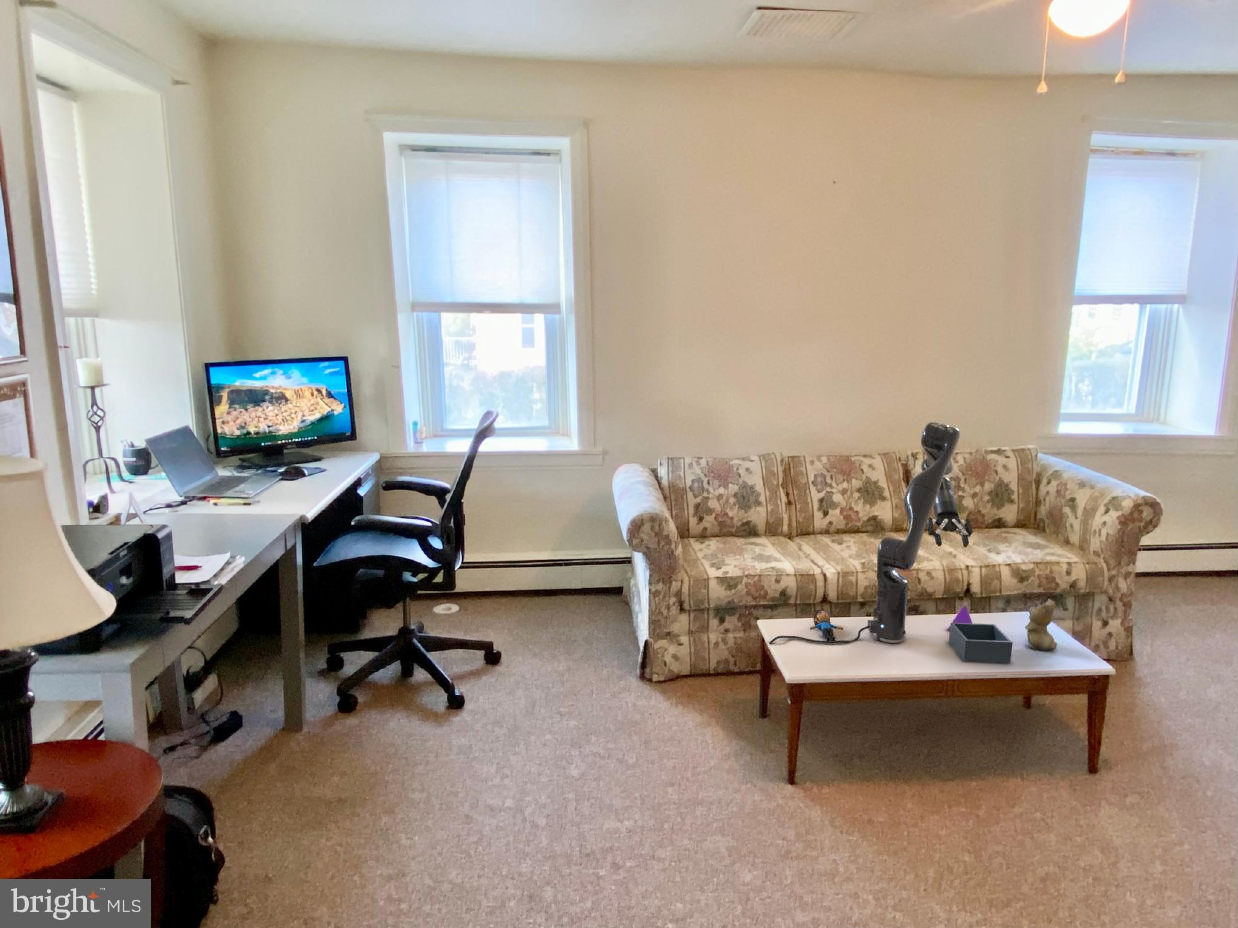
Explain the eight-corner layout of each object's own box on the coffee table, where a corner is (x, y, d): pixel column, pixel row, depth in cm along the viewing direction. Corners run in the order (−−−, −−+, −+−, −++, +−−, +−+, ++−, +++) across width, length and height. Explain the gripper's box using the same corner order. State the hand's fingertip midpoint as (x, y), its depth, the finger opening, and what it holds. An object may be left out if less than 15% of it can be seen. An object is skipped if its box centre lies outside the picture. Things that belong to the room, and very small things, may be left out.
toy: (814, 633, 240) (804, 605, 253) (812, 648, 242) (802, 619, 256) (849, 633, 240) (836, 605, 253) (846, 648, 242) (834, 619, 256)
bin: (963, 661, 228) (965, 640, 226) (948, 642, 241) (950, 622, 240) (1010, 663, 227) (1012, 642, 225) (992, 644, 240) (994, 624, 238)
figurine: (1018, 637, 245) (1023, 593, 242) (1047, 640, 243) (1052, 596, 240) (1028, 650, 235) (1033, 605, 232) (1058, 653, 234) (1064, 607, 231)
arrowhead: (959, 646, 248) (939, 620, 252) (961, 645, 249) (941, 619, 253) (984, 632, 242) (963, 606, 245) (986, 631, 243) (965, 604, 247)
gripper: (926, 499, 264) (934, 540, 255) (968, 500, 263) (978, 541, 254) (921, 510, 271) (928, 550, 262) (962, 511, 269) (970, 551, 260)
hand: (953, 545), depth 258 cm, fingers open, 8 cm apart
